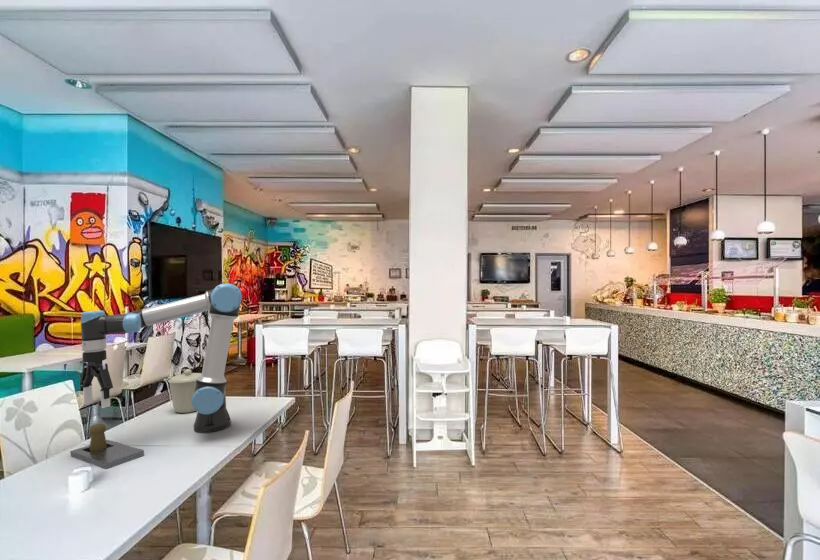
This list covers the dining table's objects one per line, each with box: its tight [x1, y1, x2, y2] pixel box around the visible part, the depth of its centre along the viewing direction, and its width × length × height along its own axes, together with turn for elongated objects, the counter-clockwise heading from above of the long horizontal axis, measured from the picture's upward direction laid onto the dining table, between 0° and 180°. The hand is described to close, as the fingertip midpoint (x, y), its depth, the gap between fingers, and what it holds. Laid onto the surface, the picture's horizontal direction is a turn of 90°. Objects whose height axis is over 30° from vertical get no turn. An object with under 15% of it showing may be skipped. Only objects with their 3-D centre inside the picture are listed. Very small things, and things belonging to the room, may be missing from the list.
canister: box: [167, 368, 202, 414], centre depth 223 cm, size 18×18×21 cm
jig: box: [70, 439, 145, 470], centre depth 165 cm, size 26×13×2 cm, turn 60°
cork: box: [89, 423, 107, 453], centre depth 169 cm, size 6×6×11 cm
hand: (96, 405), depth 169 cm, fingers open, 13 cm apart
